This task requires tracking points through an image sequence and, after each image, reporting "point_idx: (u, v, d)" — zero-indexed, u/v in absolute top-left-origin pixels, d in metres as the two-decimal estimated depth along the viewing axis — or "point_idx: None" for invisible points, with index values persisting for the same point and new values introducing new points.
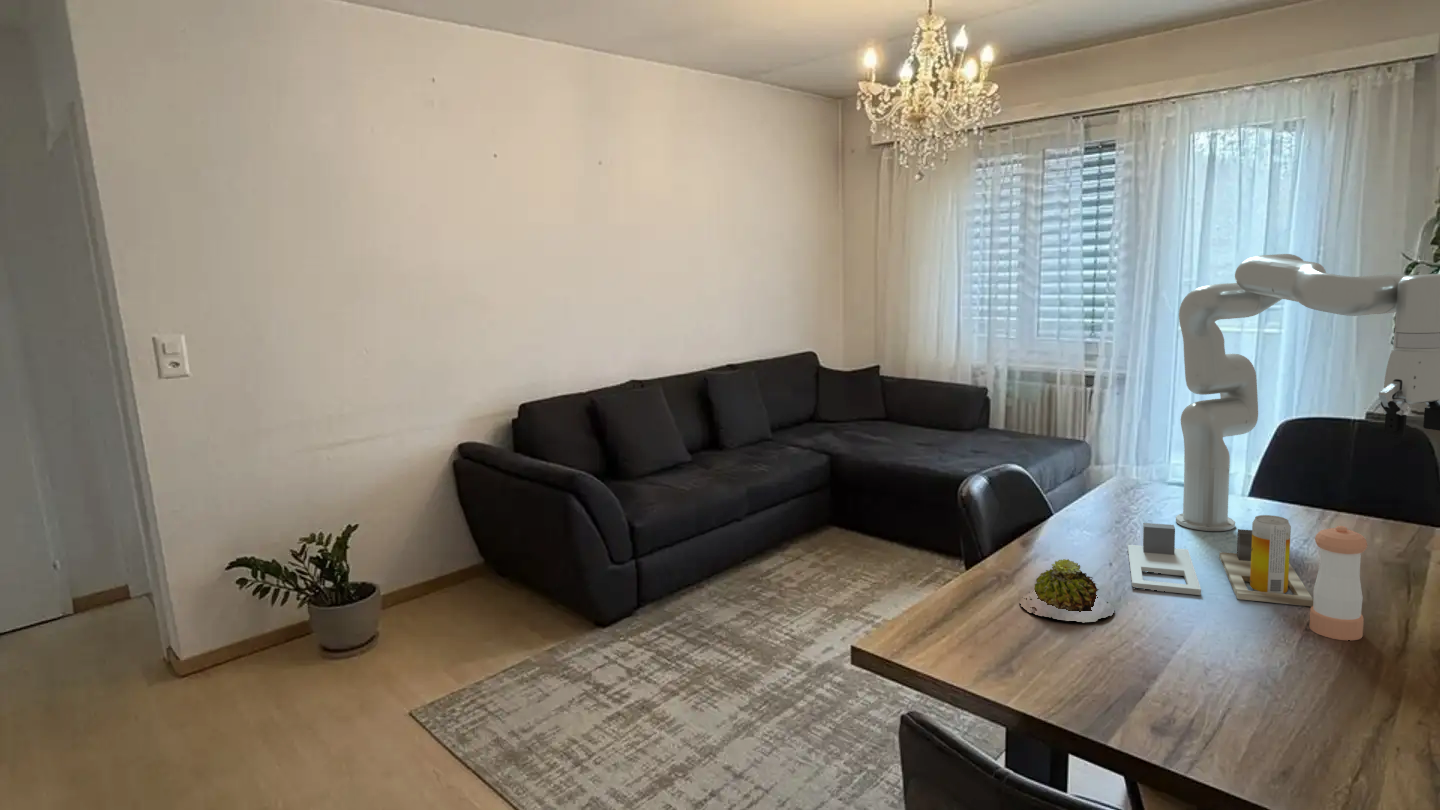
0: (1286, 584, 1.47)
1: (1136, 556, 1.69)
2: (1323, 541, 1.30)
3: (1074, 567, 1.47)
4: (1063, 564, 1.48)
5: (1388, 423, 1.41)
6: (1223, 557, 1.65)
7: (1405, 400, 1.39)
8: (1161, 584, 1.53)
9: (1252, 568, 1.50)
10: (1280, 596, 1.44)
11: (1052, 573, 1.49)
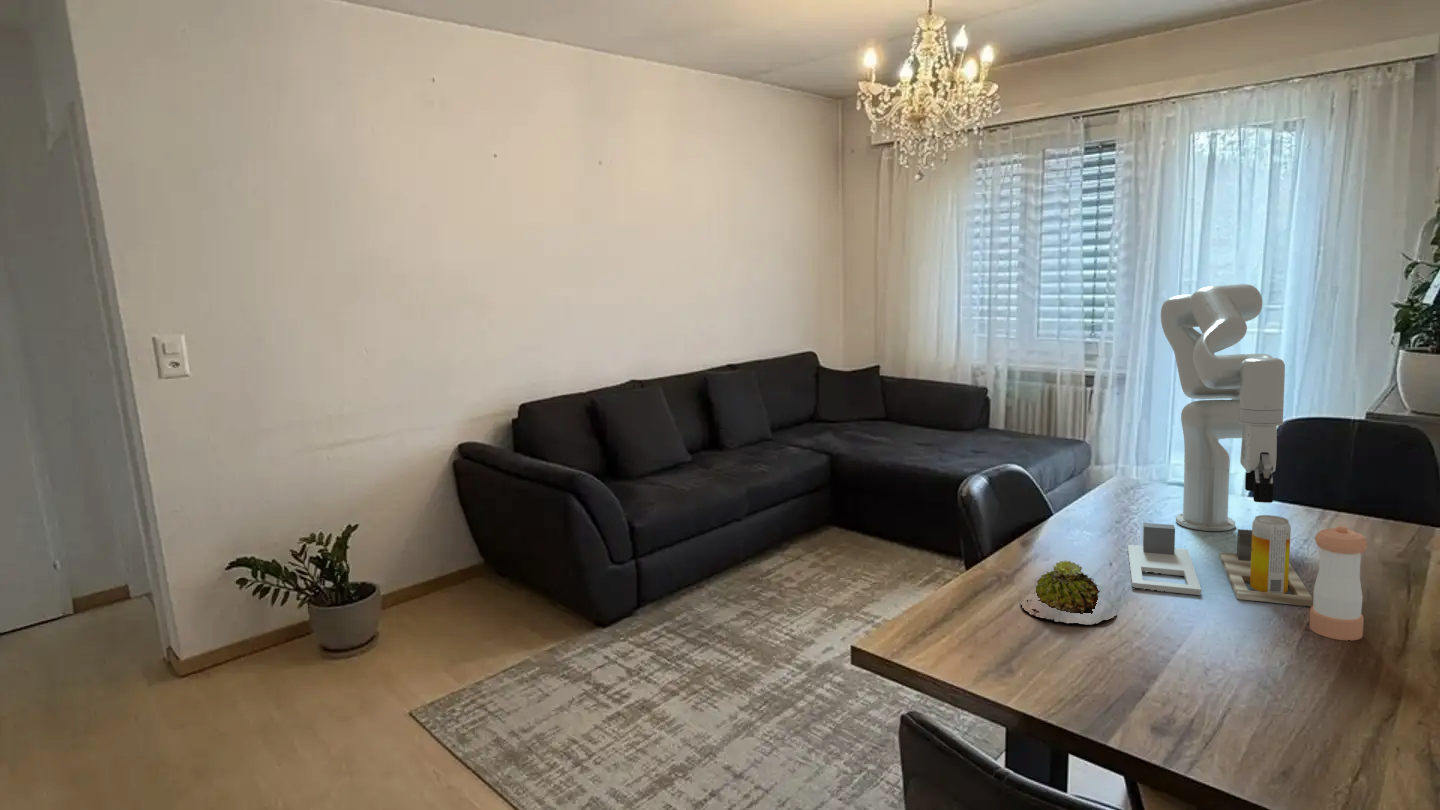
0: (1286, 584, 1.47)
1: (1136, 556, 1.69)
2: (1323, 541, 1.30)
3: (1075, 569, 1.46)
4: (1064, 566, 1.48)
5: (1261, 492, 1.55)
6: (1223, 557, 1.65)
7: (1270, 470, 1.55)
8: (1161, 584, 1.53)
9: (1252, 568, 1.50)
10: (1280, 596, 1.44)
11: (1053, 575, 1.49)
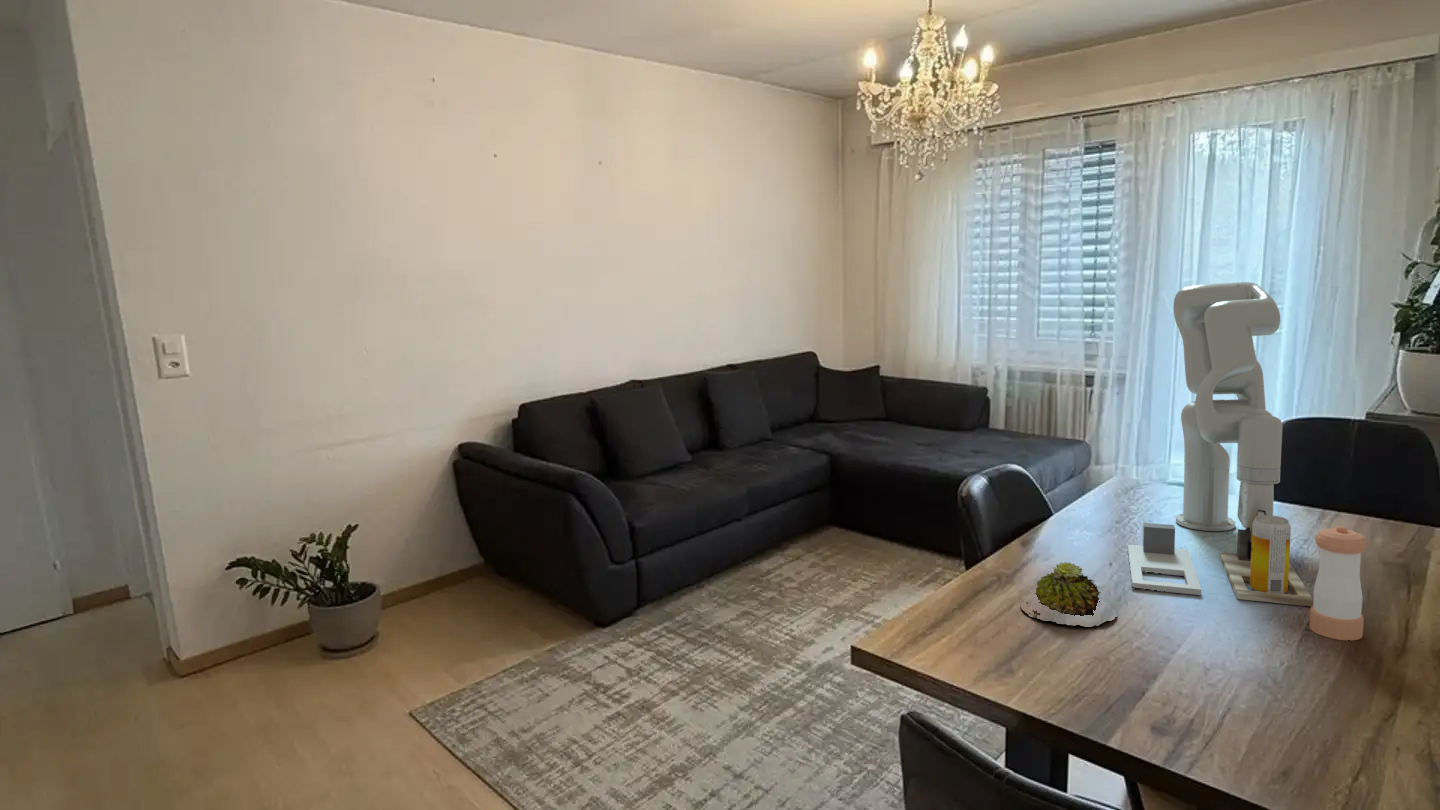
0: (1286, 584, 1.47)
1: (1136, 556, 1.69)
2: (1323, 541, 1.30)
3: (1076, 570, 1.45)
4: (1064, 567, 1.47)
5: None
6: (1223, 557, 1.65)
7: None
8: (1161, 584, 1.53)
9: (1252, 568, 1.50)
10: (1280, 596, 1.44)
11: (1053, 577, 1.48)
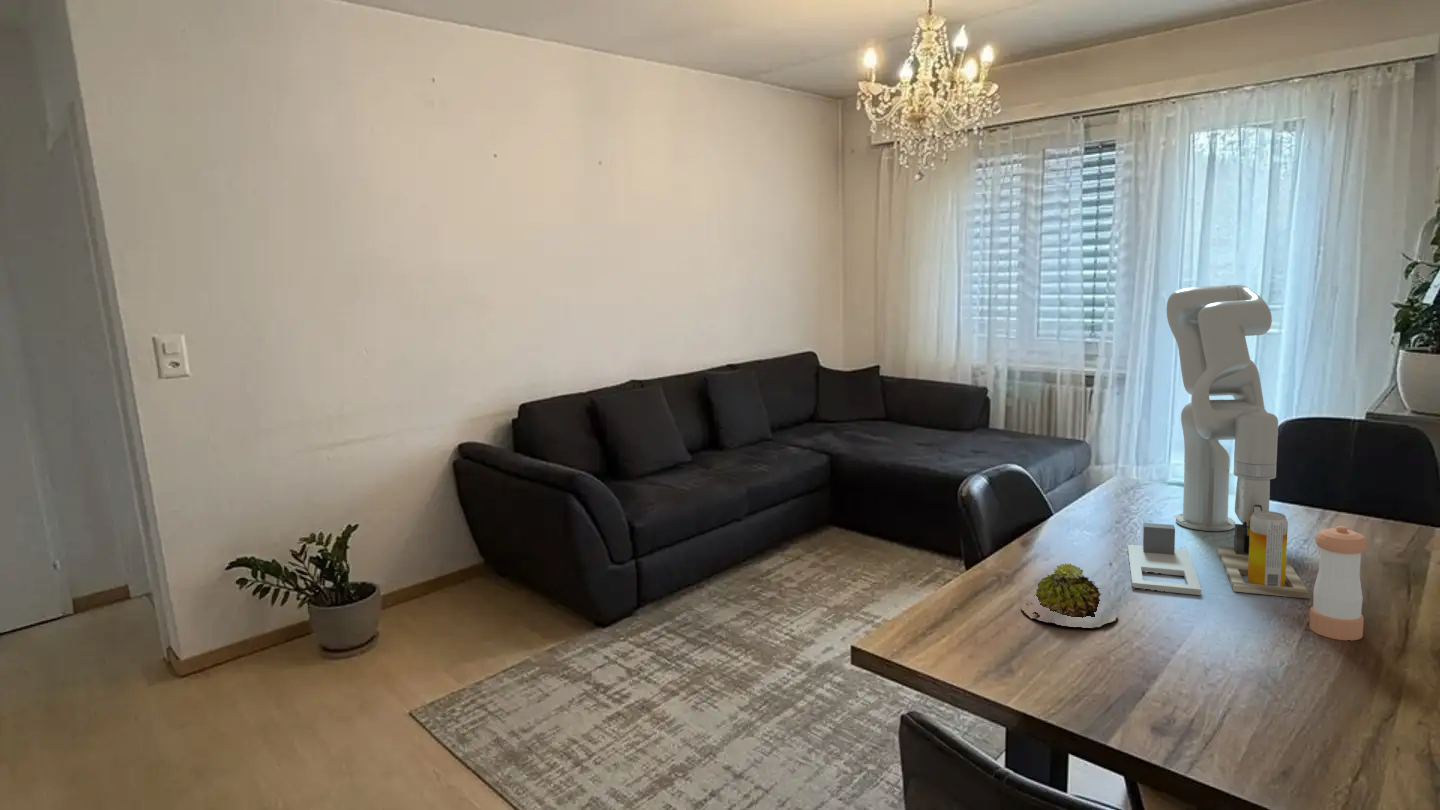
0: (1283, 579, 1.49)
1: (1136, 556, 1.69)
2: (1323, 541, 1.30)
3: (1077, 572, 1.44)
4: (1065, 569, 1.46)
5: None
6: (1220, 551, 1.68)
7: None
8: (1161, 584, 1.53)
9: (1250, 563, 1.52)
10: (1275, 588, 1.48)
11: (1054, 578, 1.47)
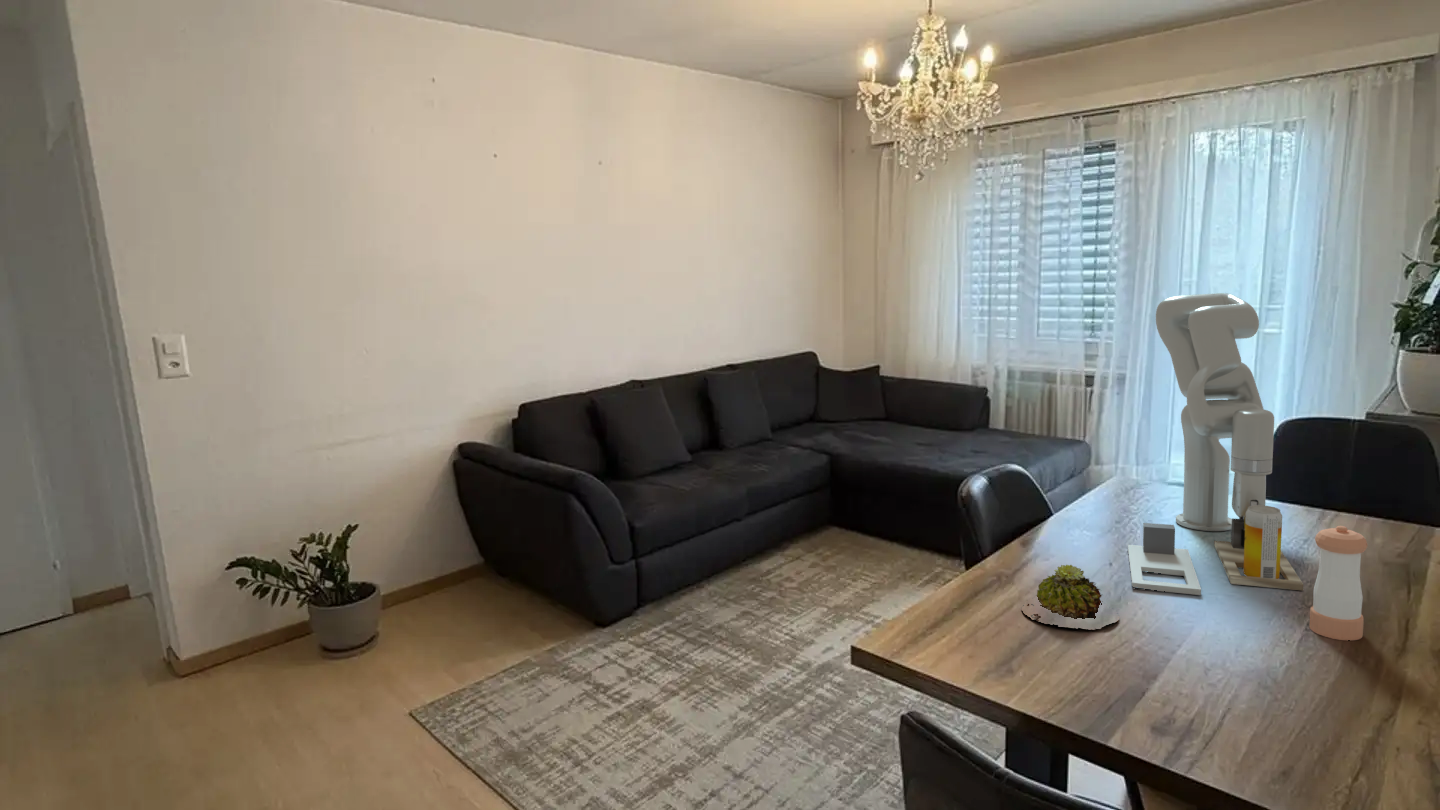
0: (1278, 571, 1.53)
1: (1136, 556, 1.69)
2: (1323, 541, 1.30)
3: (1078, 573, 1.44)
4: (1066, 570, 1.46)
5: None
6: (1218, 545, 1.72)
7: None
8: (1161, 584, 1.53)
9: (1245, 556, 1.56)
10: (1271, 581, 1.51)
11: (1055, 579, 1.46)
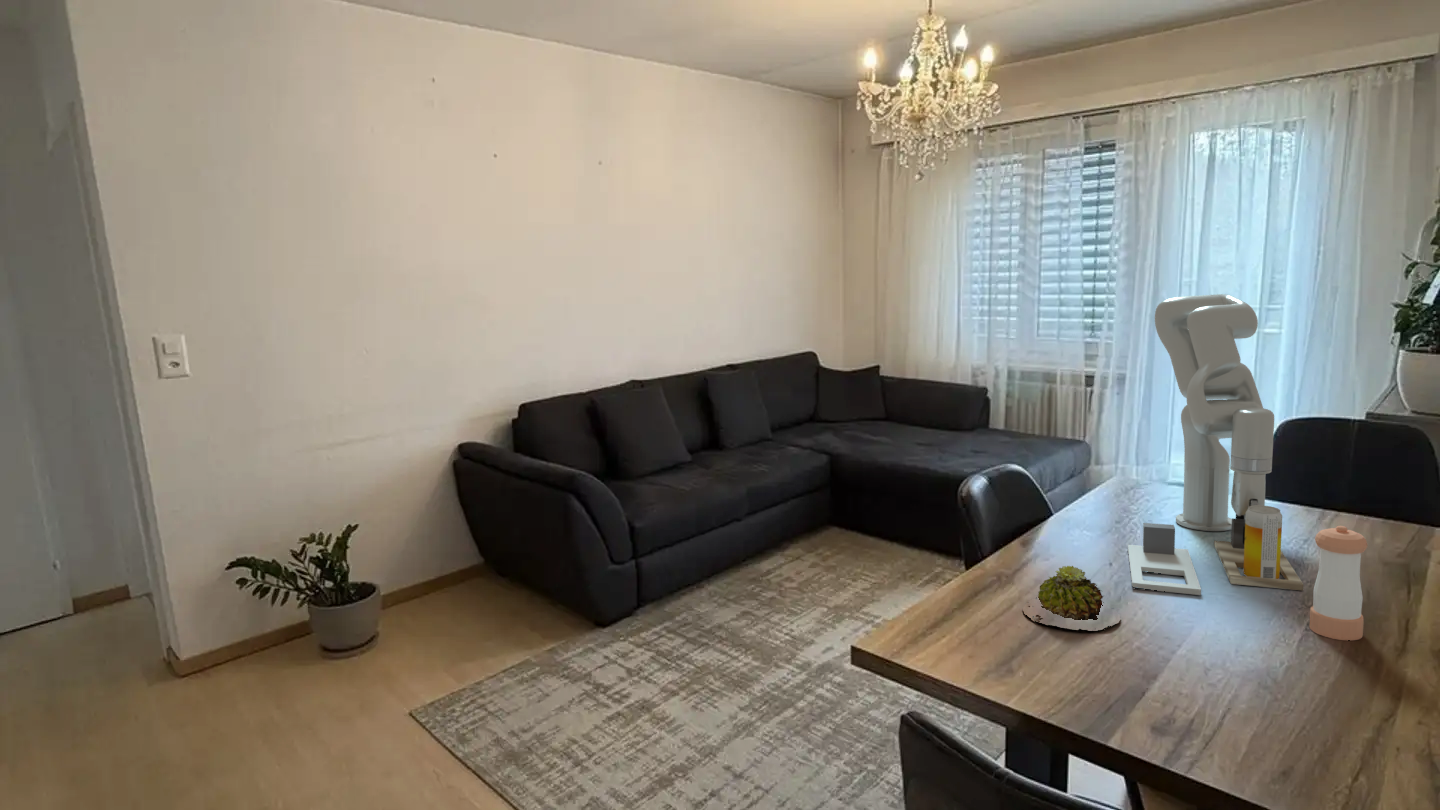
0: (1278, 571, 1.53)
1: (1136, 556, 1.69)
2: (1323, 541, 1.30)
3: (1079, 574, 1.43)
4: (1067, 571, 1.45)
5: None
6: (1218, 545, 1.72)
7: None
8: (1161, 584, 1.53)
9: (1245, 556, 1.56)
10: (1271, 581, 1.51)
11: (1056, 580, 1.46)
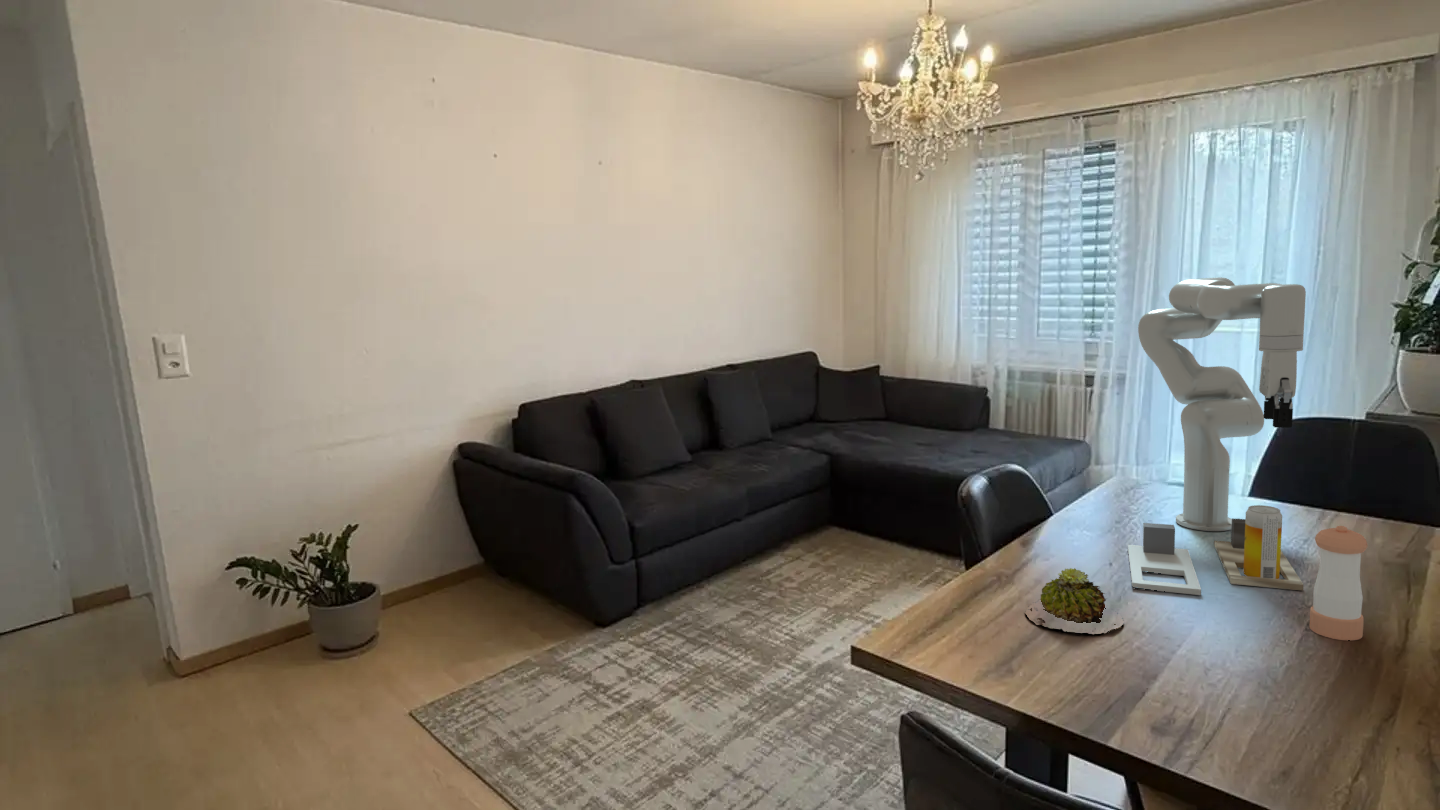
0: (1278, 571, 1.53)
1: (1136, 556, 1.69)
2: (1323, 541, 1.30)
3: (1082, 576, 1.42)
4: (1070, 573, 1.44)
5: (1280, 417, 1.57)
6: (1218, 545, 1.72)
7: None
8: (1161, 584, 1.53)
9: (1245, 556, 1.56)
10: (1271, 581, 1.51)
11: (1058, 583, 1.45)
